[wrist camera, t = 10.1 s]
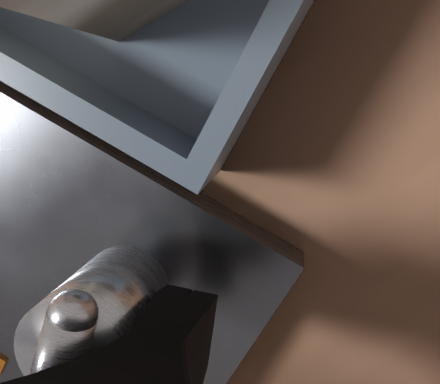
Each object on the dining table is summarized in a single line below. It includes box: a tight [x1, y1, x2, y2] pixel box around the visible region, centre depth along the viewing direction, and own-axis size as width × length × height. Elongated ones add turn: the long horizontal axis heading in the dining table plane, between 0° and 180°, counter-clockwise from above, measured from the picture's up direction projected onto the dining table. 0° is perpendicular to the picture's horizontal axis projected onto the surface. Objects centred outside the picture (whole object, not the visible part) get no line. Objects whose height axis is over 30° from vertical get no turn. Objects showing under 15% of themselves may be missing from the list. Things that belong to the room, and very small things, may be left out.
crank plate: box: [0, 81, 304, 384], centre depth 14 cm, size 12×11×1 cm
